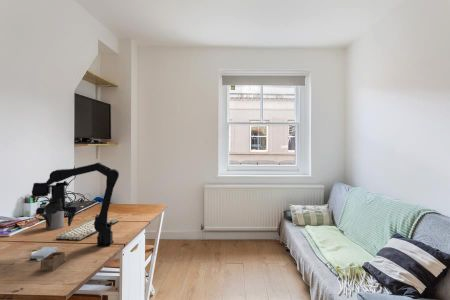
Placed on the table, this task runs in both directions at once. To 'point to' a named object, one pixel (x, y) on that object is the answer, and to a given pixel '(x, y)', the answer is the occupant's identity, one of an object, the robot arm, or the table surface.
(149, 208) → the table surface
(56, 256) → the box
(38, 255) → the lid
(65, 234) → the mechanical keyboard
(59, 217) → the pillar candle
